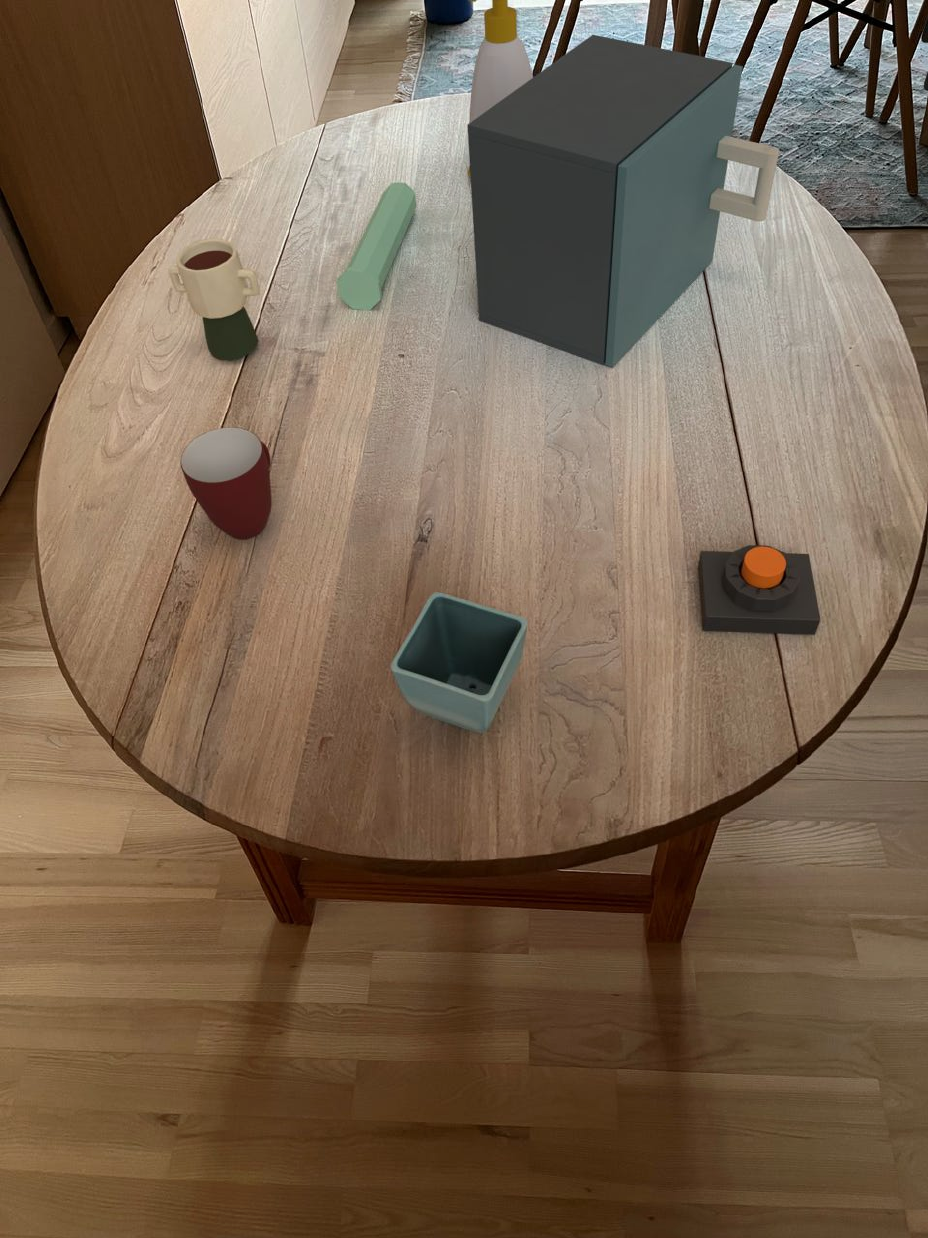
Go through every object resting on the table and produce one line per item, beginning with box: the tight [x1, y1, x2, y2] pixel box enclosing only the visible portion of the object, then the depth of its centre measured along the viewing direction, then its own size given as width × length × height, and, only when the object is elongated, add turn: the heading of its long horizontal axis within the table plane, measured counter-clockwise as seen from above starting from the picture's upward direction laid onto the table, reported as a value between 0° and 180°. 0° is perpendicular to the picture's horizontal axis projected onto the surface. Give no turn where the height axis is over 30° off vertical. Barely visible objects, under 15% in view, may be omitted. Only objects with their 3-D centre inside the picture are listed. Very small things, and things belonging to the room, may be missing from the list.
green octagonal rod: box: [335, 182, 417, 311], centre depth 127 cm, size 6×6×25 cm
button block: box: [697, 544, 821, 636], centre depth 87 cm, size 10×8×4 cm
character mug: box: [168, 237, 261, 362], centre depth 113 cm, size 11×7×13 cm, turn 79°
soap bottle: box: [467, 0, 534, 180], centre depth 131 cm, size 11×12×26 cm
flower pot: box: [389, 591, 529, 734], centre depth 80 cm, size 9×9×9 cm
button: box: [741, 547, 786, 589], centre depth 85 cm, size 4×4×2 cm
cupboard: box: [466, 34, 733, 366], centre depth 112 cm, size 18×26×24 cm
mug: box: [179, 426, 273, 541], centre depth 96 cm, size 11×8×10 cm
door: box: [604, 64, 780, 368], centre depth 107 cm, size 8×26×24 cm, turn 145°
